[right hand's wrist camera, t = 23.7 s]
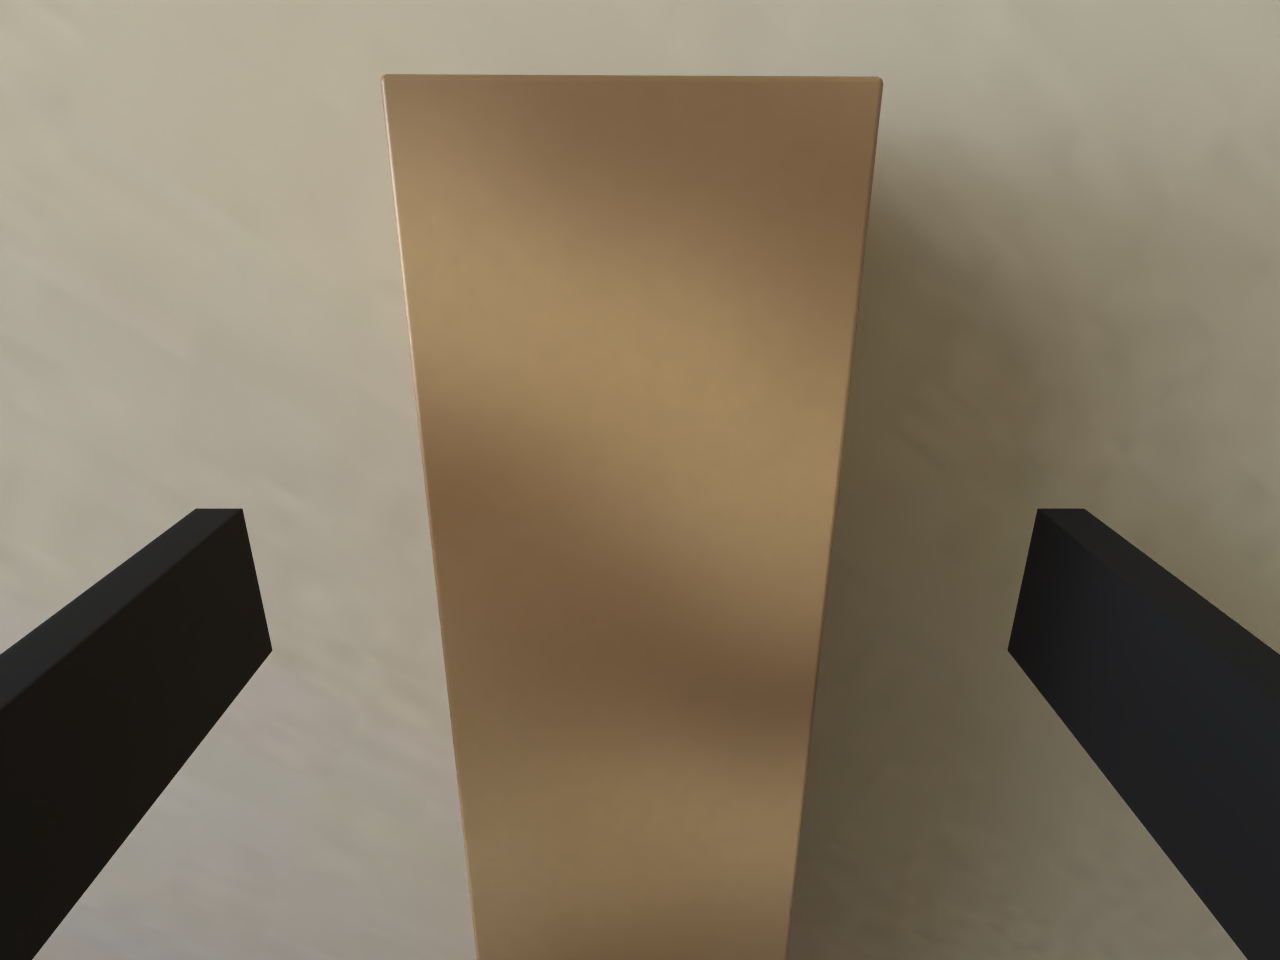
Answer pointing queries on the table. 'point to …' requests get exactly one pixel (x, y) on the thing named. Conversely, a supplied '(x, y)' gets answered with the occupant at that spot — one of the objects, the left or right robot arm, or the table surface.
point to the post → (631, 482)
